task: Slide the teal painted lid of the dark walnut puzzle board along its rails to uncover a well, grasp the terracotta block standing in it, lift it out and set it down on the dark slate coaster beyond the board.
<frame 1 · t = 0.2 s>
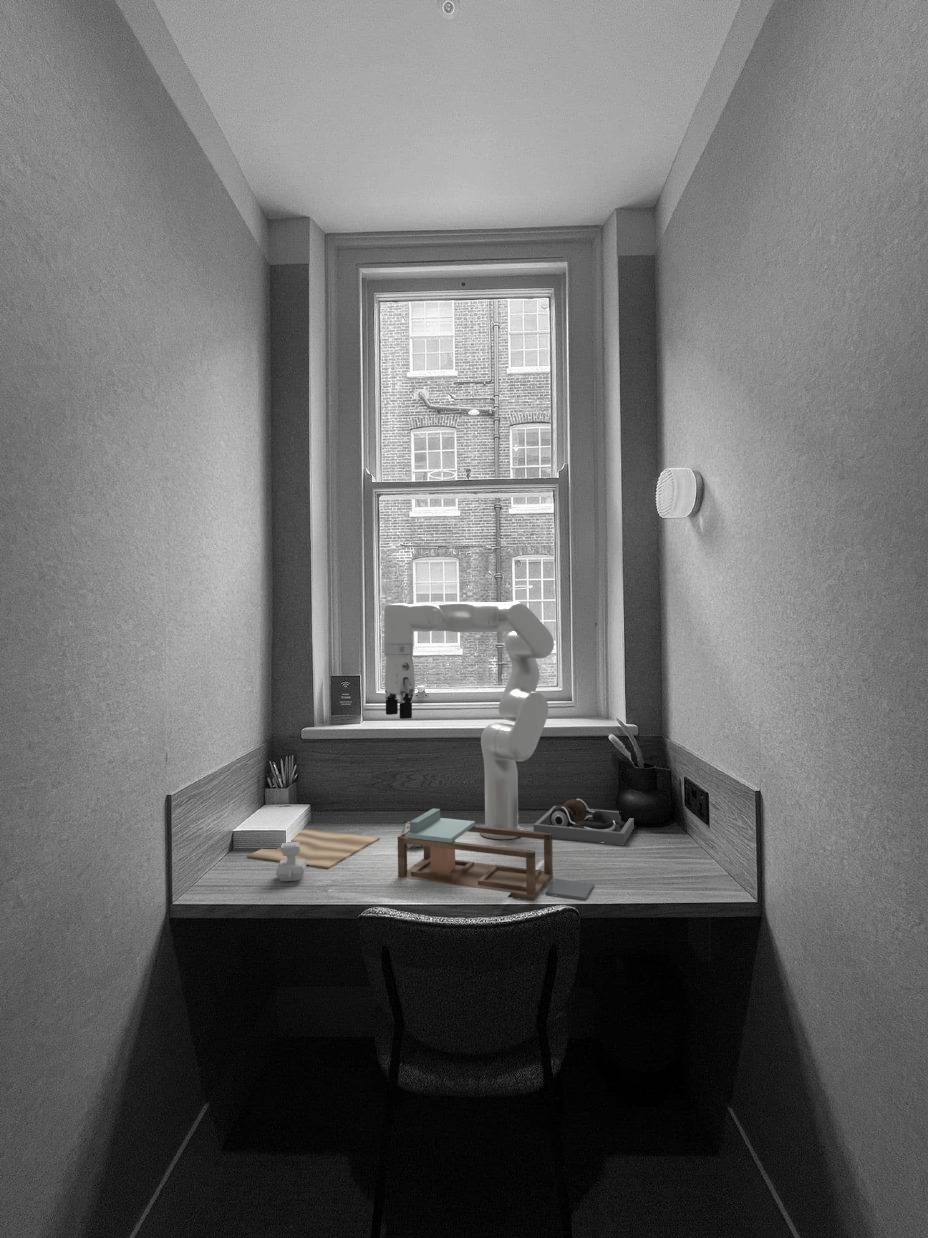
hand: (398, 716, 189), 37 cm above the table, tool pointing down, fingers open, 9 cm apart
cork mat: (315, 848, 196), on the table
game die: (414, 850, 194), on the table
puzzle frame: (473, 879, 171), on the table
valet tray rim: (586, 829, 210), on the table
block: (443, 870, 174), point 1 cm above the table, touching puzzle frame
lid: (442, 824, 174), point 12 cm above the table, slide at 0.0 cm
headset: (587, 831, 210), resting in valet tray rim
coaster: (570, 890, 163), on the table
stamp: (291, 880, 173), on the table
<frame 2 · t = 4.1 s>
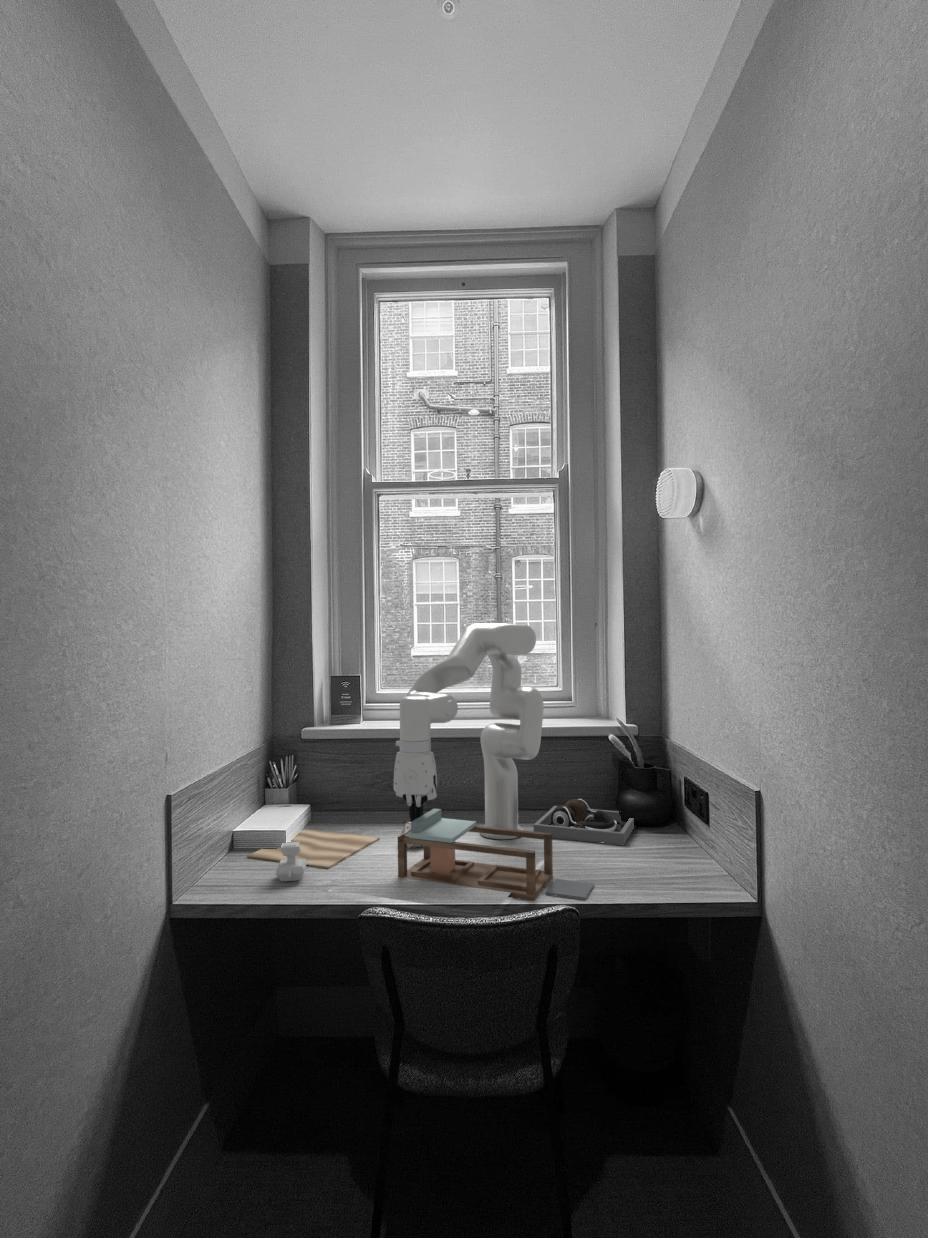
hand: (416, 821, 177), 12 cm above the table, tool pointing down, fingers closed
lid: (443, 824, 174), point 12 cm above the table, slide at 0.3 cm, touching gripper
everything else where it was.
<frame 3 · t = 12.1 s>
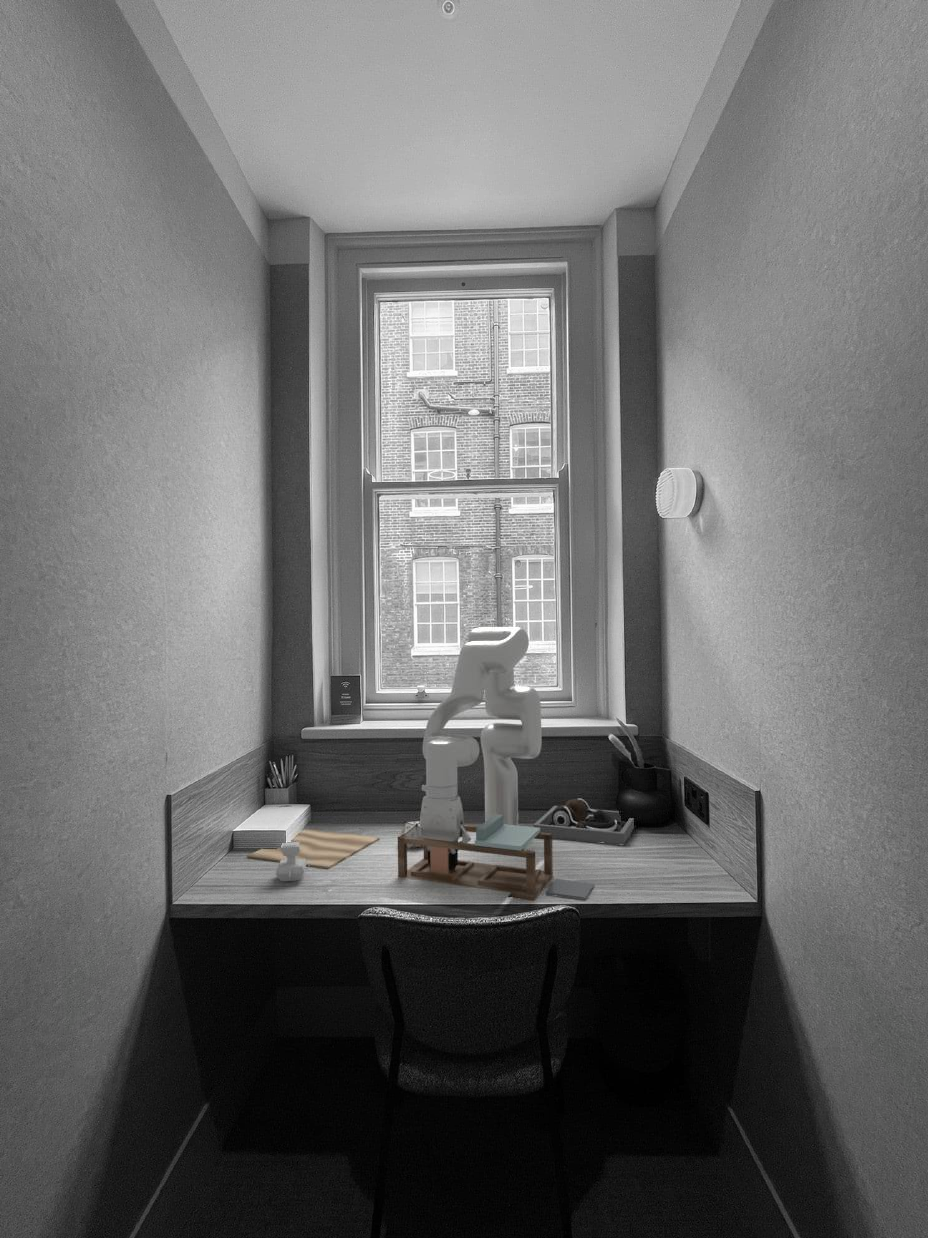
hand: (442, 866, 174), 2 cm above the table, tool pointing down, fingers closed on block, 4 cm apart
block: (443, 870, 174), point 1 cm above the table, touching gripper, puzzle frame
lid: (508, 831, 168), point 12 cm above the table, slide at 16.8 cm
everything else where it was.
when the fingers open (3 cm above the table, at t = 19.1 s): block drops 2 cm, resting on coaster.
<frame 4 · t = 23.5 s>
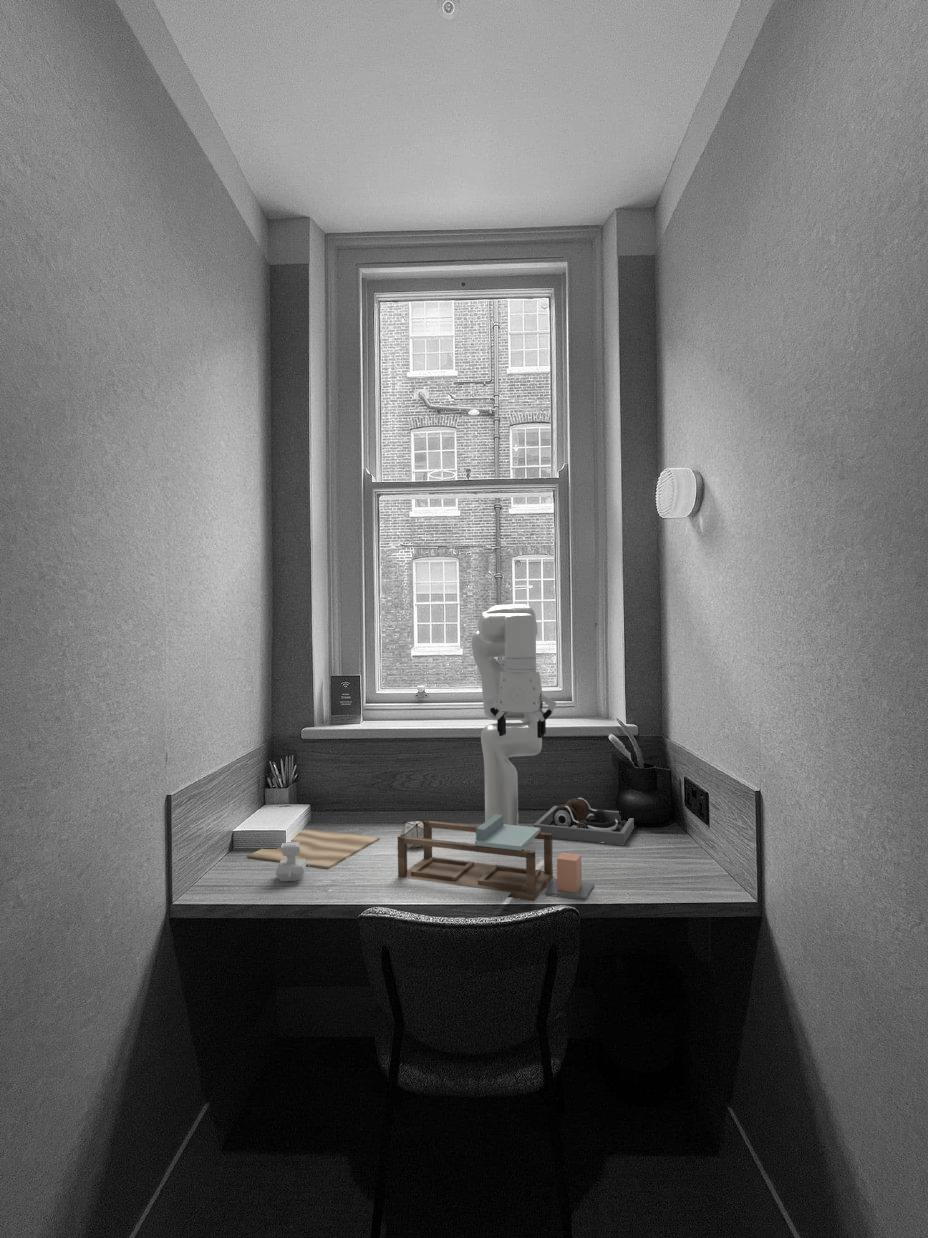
hand: (521, 736, 174), 33 cm above the table, tool pointing down, fingers open, 9 cm apart
block: (569, 887, 163), point 1 cm above the table, touching coaster
at the end: lid slide at 16.8 cm; block inside the target area (0.1 cm from its centre), point 0.6 cm above the table; block tilted 0° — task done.
